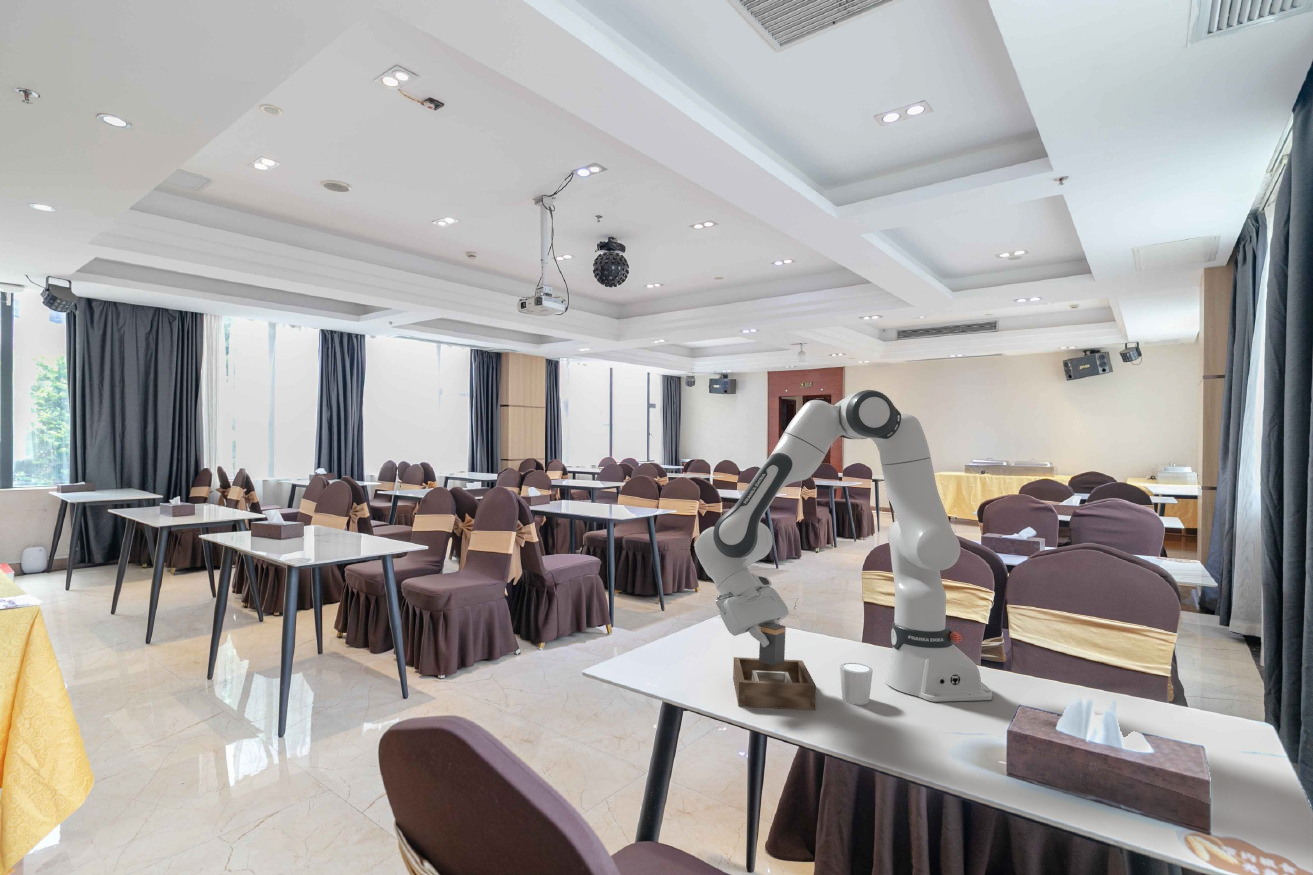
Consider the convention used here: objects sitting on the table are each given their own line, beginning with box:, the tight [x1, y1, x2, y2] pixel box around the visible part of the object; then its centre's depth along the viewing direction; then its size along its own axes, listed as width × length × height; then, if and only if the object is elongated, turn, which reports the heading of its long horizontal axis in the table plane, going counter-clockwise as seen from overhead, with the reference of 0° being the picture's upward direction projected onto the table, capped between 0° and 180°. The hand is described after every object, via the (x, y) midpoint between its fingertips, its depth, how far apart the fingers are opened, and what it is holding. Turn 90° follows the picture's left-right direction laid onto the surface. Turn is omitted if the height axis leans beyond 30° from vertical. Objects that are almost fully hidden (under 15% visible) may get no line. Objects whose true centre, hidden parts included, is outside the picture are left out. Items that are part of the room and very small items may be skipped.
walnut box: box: [732, 656, 817, 711], centre depth 140 cm, size 16×16×5 cm
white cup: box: [839, 662, 873, 706], centre depth 138 cm, size 7×7×7 cm
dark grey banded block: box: [758, 622, 787, 666], centre depth 140 cm, size 4×4×8 cm
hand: (774, 642), depth 140 cm, fingers closed on dark grey banded block, 4 cm apart
